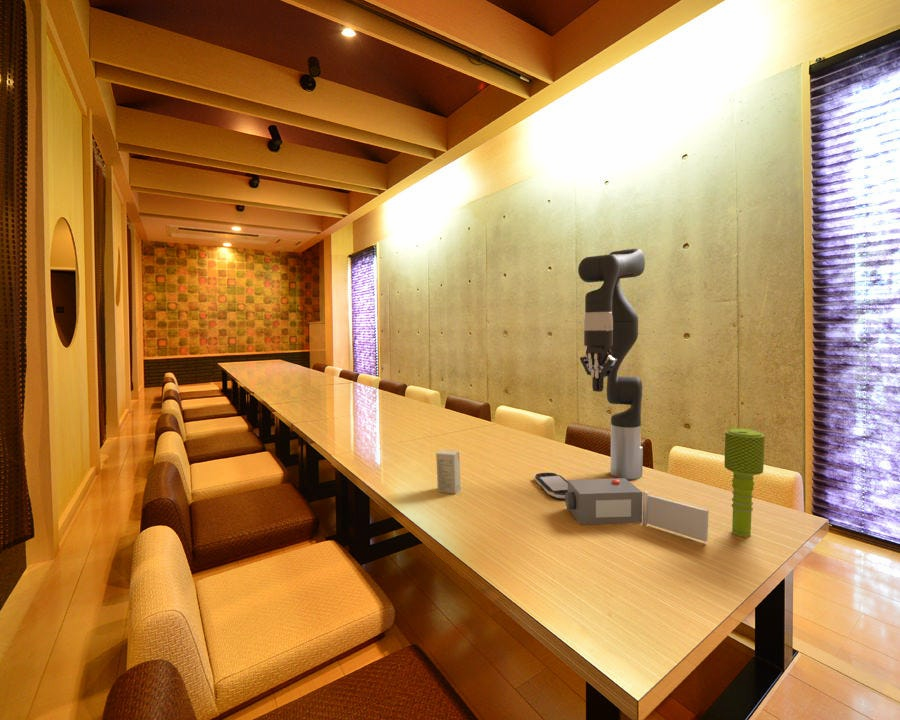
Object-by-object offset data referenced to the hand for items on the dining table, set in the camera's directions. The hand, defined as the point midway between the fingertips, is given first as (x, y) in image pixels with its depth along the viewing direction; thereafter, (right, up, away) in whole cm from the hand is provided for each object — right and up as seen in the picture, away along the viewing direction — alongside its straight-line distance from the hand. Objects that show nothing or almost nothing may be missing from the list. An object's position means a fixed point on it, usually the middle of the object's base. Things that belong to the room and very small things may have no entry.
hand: (597, 391), depth 118 cm
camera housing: (-1, -33, -6) cm, 33 cm away
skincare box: (-42, -32, +13) cm, 54 cm away
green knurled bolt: (+29, -33, -17) cm, 47 cm away
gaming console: (-8, -32, +14) cm, 36 cm away
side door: (+13, -33, -16) cm, 39 cm away
